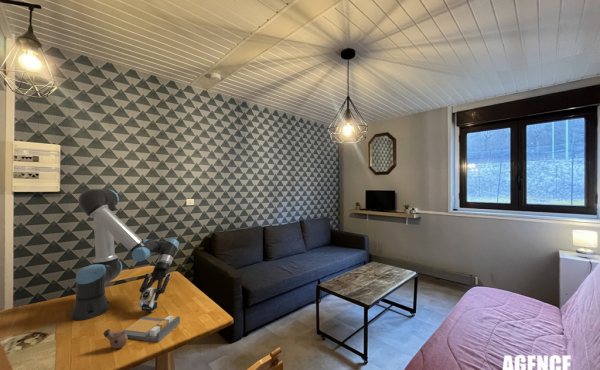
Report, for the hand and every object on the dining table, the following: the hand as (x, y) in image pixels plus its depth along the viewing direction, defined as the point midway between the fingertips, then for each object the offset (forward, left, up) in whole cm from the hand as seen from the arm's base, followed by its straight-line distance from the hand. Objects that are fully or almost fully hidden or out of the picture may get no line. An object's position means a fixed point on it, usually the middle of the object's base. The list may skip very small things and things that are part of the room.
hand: (145, 306), depth 123 cm
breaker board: (+11, -9, -5) cm, 16 cm away
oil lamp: (+6, -23, -5) cm, 24 cm away
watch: (-1, +4, -3) cm, 5 cm away
